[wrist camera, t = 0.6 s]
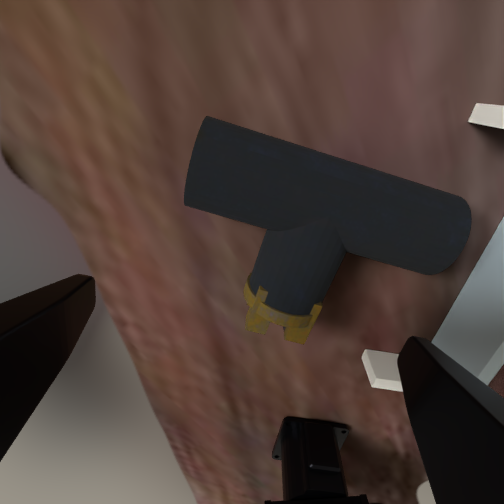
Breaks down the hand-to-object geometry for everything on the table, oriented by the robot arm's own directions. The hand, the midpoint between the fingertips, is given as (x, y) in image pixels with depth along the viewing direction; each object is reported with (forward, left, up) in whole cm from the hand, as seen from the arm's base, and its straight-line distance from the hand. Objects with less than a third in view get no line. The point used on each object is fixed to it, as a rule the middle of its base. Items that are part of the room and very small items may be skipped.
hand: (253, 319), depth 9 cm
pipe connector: (-3, -3, -14) cm, 14 cm away
